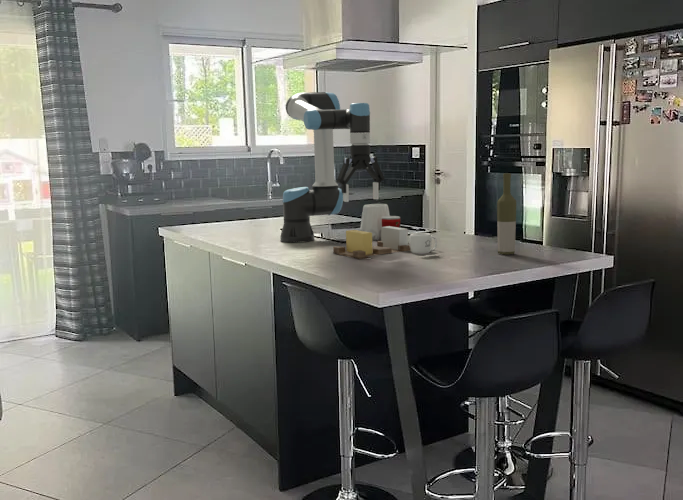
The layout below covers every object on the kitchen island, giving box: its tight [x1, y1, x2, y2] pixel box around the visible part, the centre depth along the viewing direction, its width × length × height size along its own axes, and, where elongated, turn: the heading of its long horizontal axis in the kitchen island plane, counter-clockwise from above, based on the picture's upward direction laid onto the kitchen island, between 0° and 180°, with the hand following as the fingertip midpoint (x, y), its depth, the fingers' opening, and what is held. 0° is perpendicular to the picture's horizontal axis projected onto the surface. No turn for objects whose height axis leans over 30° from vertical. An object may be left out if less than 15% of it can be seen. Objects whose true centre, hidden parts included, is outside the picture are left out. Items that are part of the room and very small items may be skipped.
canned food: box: [382, 215, 402, 228], centre depth 293 cm, size 8×8×11 cm
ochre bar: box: [345, 229, 373, 255], centre depth 264 cm, size 12×4×8 cm, turn 32°
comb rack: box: [332, 240, 411, 260], centre depth 268 cm, size 18×24×3 cm
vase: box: [359, 203, 391, 241], centre depth 305 cm, size 14×14×15 cm
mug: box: [408, 232, 438, 255], centre depth 262 cm, size 12×8×8 cm
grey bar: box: [380, 226, 409, 250], centre depth 273 cm, size 12×4×8 cm, turn 32°
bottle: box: [496, 172, 517, 256], centre depth 254 cm, size 7×7×30 cm
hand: (361, 200), depth 265 cm, fingers open, 13 cm apart
